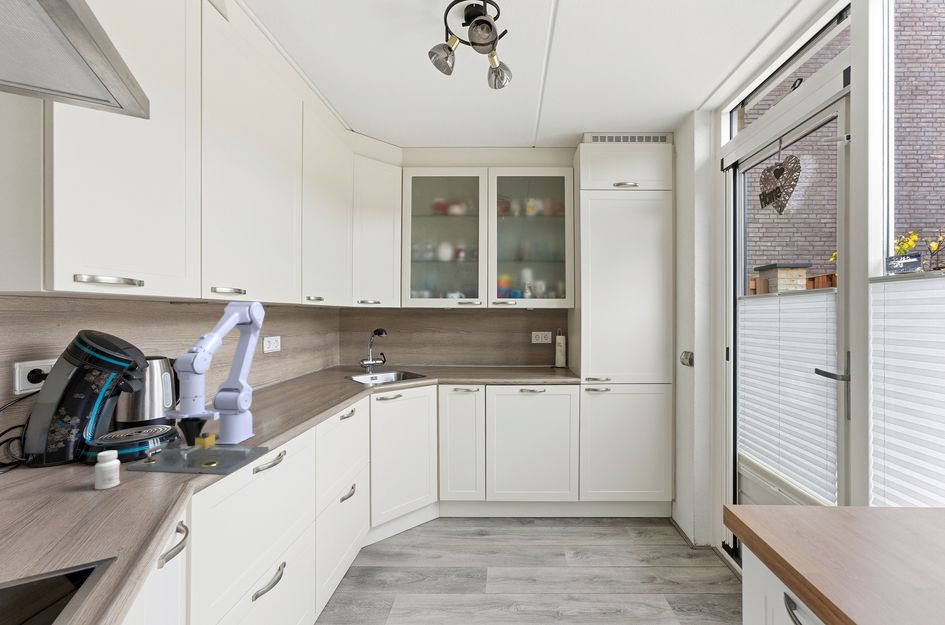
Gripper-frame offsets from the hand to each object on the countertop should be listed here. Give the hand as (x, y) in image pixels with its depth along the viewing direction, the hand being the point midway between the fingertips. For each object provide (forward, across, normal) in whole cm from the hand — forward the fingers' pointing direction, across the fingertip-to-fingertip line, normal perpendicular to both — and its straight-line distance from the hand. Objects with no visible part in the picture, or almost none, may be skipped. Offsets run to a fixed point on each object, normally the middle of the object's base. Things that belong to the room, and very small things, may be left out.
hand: (192, 445), depth 113 cm
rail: (+2, +4, 0) cm, 4 cm away
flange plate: (+3, +4, -2) cm, 6 cm away
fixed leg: (+2, -6, -3) cm, 7 cm away
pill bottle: (+4, -5, -19) cm, 20 cm away
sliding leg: (+2, +4, -3) cm, 5 cm away
